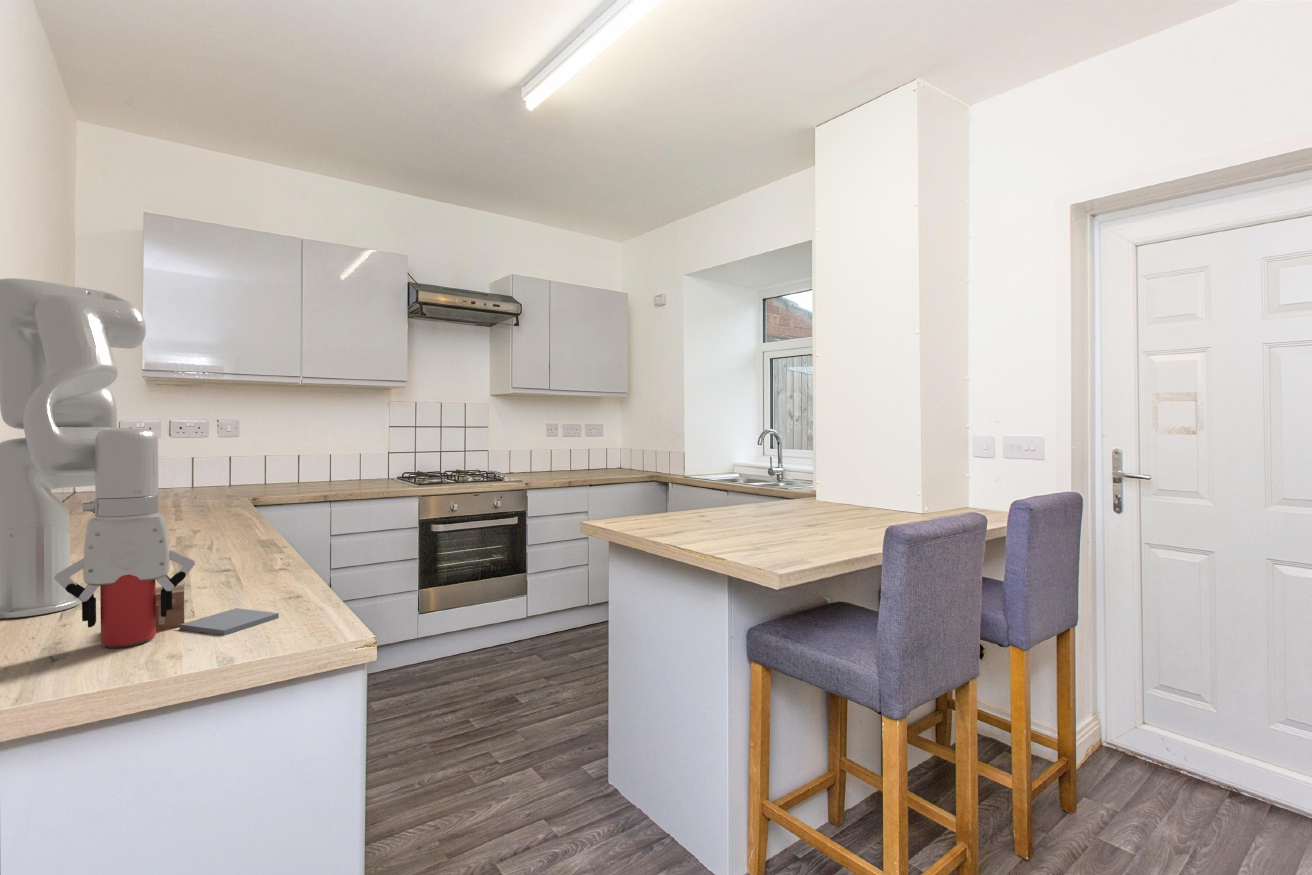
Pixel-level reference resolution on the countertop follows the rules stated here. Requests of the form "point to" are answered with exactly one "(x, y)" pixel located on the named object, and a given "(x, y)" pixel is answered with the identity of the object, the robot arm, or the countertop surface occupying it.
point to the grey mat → (229, 621)
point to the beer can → (128, 612)
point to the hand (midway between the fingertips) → (128, 619)
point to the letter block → (174, 614)
